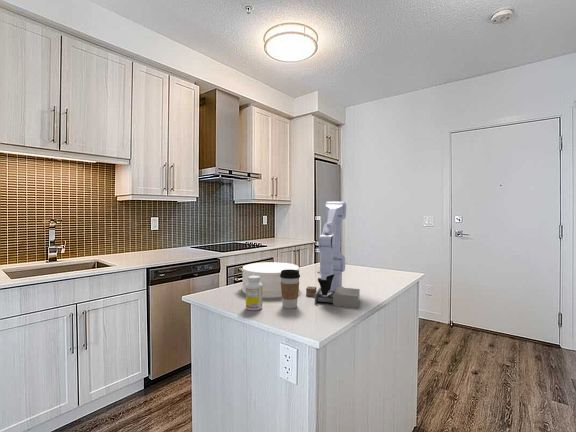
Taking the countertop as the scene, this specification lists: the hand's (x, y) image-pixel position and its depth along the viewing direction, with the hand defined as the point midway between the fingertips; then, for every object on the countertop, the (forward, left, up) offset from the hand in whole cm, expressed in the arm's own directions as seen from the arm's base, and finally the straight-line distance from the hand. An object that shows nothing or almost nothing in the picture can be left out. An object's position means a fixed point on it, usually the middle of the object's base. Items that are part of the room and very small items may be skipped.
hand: (326, 292), depth 137 cm
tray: (0, +1, -3) cm, 3 cm away
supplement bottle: (+20, -26, -4) cm, 33 cm away
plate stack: (-10, -29, -4) cm, 31 cm away
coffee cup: (+13, -13, -4) cm, 18 cm away
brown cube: (-6, -8, -3) cm, 11 cm away
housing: (0, +9, -3) cm, 10 cm away
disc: (0, 0, -2) cm, 2 cm away
